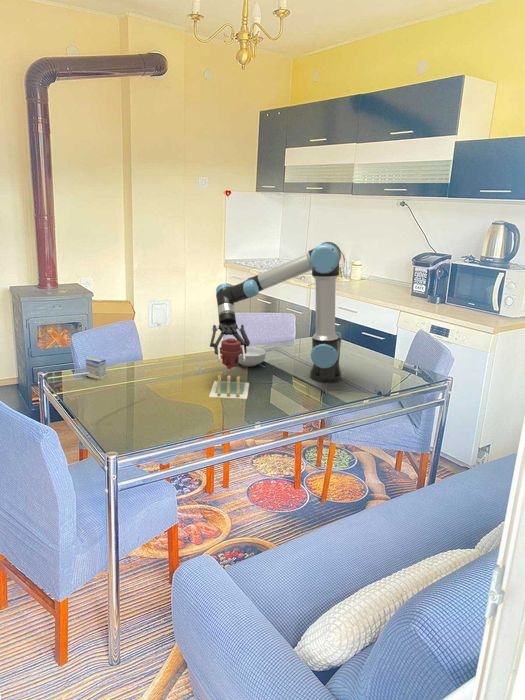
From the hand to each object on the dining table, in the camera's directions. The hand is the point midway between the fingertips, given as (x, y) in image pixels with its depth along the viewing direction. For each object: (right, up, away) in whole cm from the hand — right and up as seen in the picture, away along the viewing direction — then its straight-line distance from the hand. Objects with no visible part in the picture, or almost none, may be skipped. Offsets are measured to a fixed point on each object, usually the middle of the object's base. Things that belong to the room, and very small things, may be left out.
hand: (231, 360), depth 219 cm
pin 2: (-1, -15, -2) cm, 15 cm away
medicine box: (-63, -8, +15) cm, 65 cm away
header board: (-1, -14, +5) cm, 15 cm away
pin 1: (-5, -15, -2) cm, 16 cm away
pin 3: (+3, -15, -2) cm, 16 cm away
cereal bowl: (+6, -3, +42) cm, 43 cm away
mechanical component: (-1, -3, +4) cm, 5 cm away
